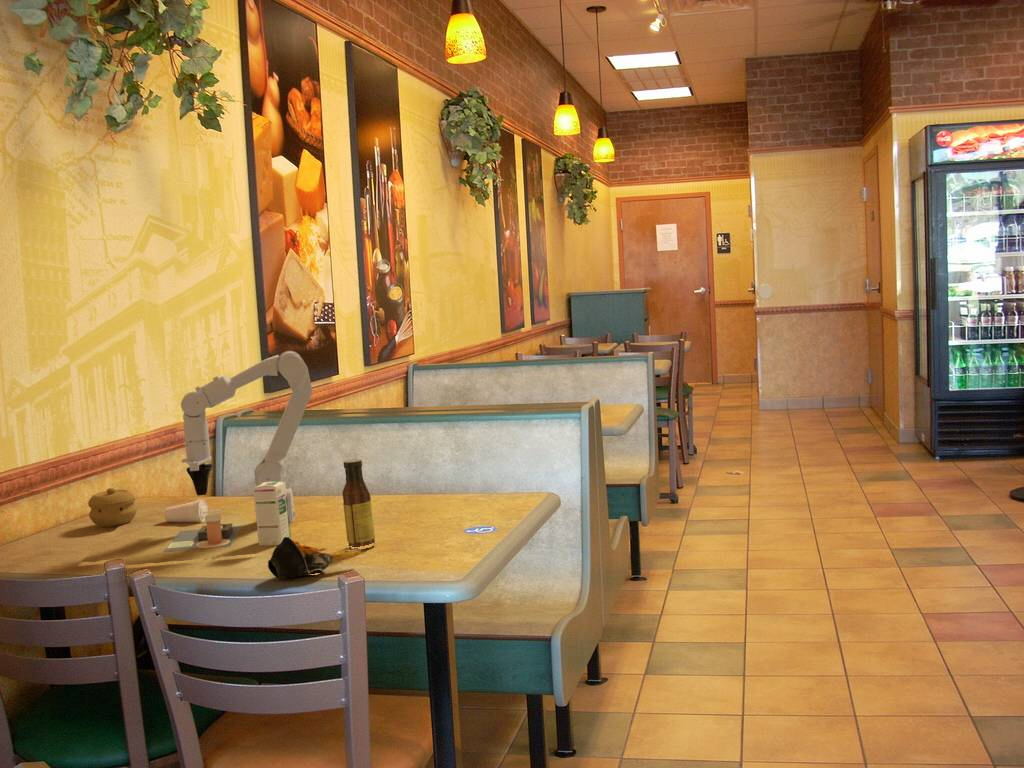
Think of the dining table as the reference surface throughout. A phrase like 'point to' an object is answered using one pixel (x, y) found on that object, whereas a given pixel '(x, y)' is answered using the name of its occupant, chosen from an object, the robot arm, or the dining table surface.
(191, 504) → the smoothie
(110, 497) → the pot
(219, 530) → the terracotta marker
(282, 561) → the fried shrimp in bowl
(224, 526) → the button collar
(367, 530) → the sauce bottle
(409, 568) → the dining table surface
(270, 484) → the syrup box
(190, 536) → the picture board
